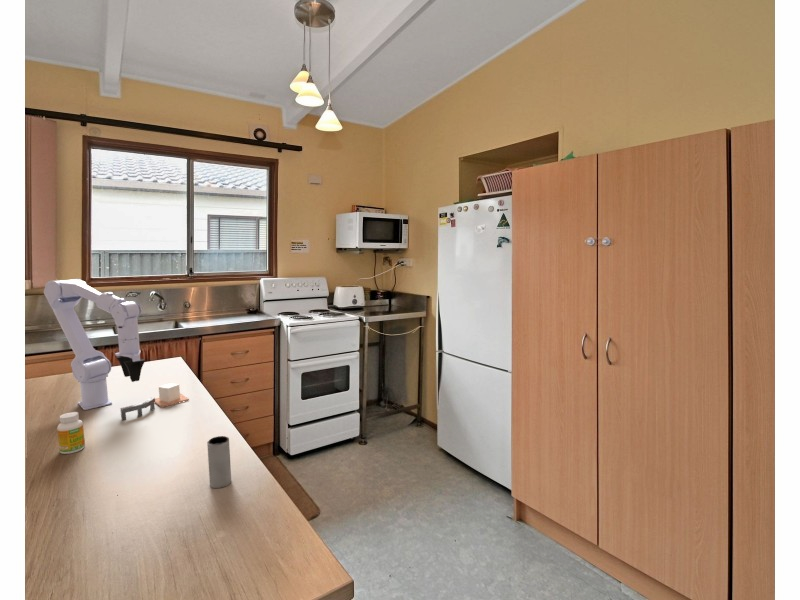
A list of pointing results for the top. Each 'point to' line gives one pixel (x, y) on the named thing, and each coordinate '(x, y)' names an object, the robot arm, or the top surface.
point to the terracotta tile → (162, 403)
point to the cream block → (169, 392)
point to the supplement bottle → (70, 433)
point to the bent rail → (137, 408)
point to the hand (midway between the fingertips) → (131, 378)
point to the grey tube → (219, 461)
